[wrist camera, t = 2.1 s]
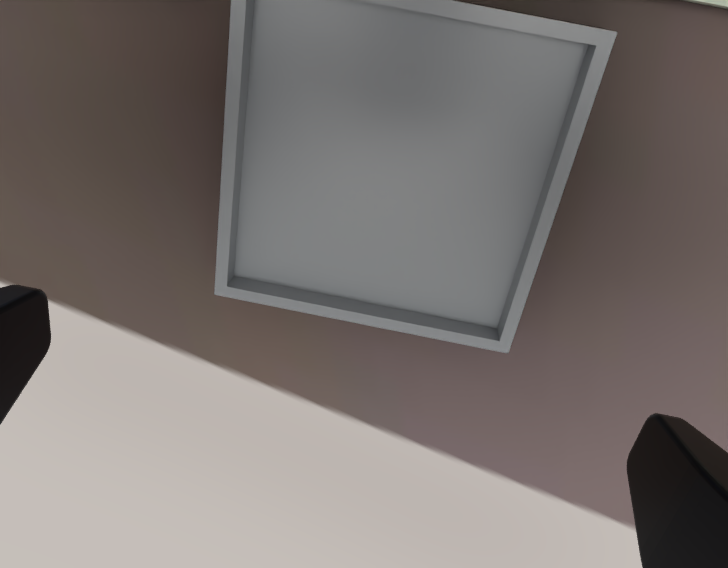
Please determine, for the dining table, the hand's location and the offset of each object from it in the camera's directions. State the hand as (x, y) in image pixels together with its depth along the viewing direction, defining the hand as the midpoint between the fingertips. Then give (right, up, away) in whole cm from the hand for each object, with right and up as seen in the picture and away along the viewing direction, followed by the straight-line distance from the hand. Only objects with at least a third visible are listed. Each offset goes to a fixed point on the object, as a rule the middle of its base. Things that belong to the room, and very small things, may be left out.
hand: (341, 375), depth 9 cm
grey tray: (+1, +5, +10) cm, 11 cm away
